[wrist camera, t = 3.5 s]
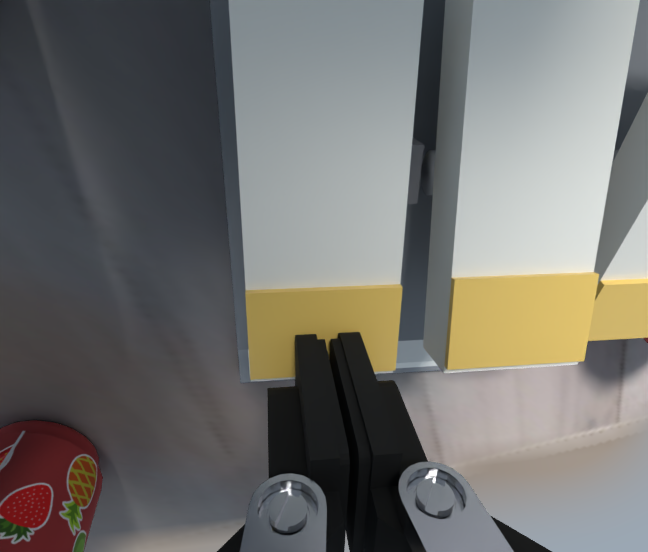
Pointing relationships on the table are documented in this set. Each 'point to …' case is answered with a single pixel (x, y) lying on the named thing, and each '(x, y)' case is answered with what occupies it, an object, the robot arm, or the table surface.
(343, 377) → the robot arm
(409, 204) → the switch unit
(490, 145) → the rocker
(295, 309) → the rocker
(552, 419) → the table surface
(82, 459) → the smoothie
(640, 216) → the rocker
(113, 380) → the table surface
